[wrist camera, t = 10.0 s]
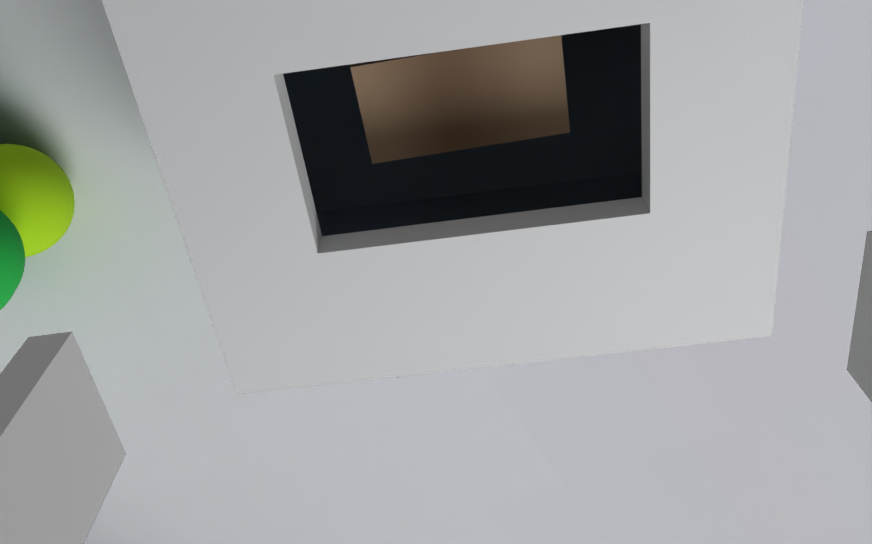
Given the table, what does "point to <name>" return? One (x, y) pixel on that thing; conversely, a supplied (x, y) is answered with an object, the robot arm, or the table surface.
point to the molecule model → (29, 210)
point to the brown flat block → (462, 98)
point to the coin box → (468, 182)
